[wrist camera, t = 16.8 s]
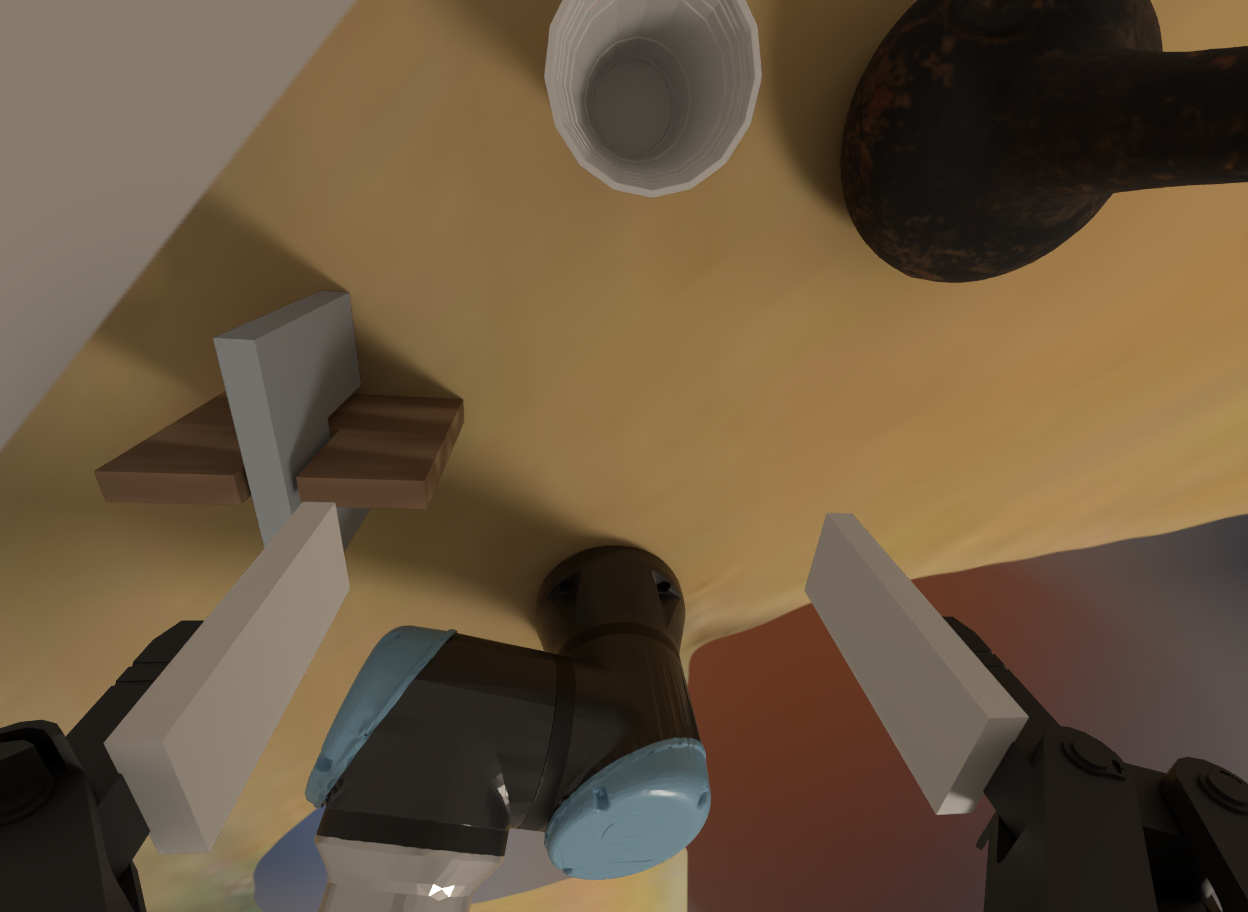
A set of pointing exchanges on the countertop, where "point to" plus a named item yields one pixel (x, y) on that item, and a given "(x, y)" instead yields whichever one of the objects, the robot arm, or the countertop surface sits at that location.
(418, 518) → the countertop surface
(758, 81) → the plastic cup
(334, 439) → the walnut board
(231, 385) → the notched grey panel
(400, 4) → the countertop surface
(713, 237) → the countertop surface
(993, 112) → the dark brown vase
